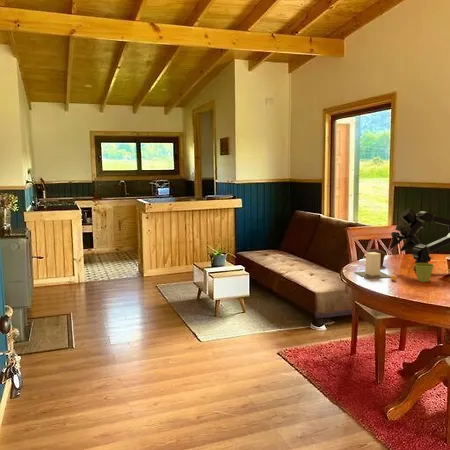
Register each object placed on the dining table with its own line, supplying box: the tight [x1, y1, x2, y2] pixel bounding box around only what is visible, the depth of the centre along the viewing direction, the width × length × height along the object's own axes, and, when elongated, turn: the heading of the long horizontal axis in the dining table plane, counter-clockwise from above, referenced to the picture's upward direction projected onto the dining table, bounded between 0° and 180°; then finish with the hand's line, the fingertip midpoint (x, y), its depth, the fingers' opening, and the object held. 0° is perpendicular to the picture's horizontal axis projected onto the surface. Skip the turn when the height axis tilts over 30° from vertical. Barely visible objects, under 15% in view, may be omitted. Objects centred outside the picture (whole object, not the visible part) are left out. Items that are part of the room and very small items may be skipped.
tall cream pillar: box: [364, 251, 381, 276], centre depth 250 cm, size 6×6×12 cm
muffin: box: [366, 248, 386, 268], centre depth 275 cm, size 12×11×10 cm
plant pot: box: [413, 262, 435, 283], centre depth 236 cm, size 9×9×9 cm
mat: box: [354, 270, 392, 280], centre depth 251 cm, size 15×15×1 cm
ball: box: [390, 274, 398, 282], centre depth 237 cm, size 3×3×3 cm
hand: (395, 249), depth 253 cm, fingers open, 9 cm apart
